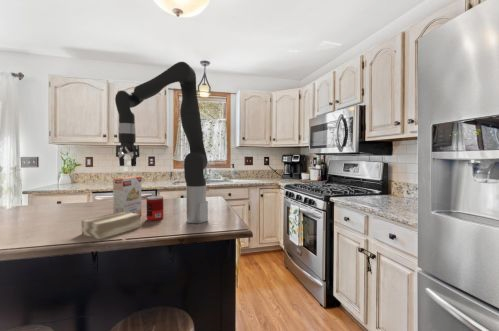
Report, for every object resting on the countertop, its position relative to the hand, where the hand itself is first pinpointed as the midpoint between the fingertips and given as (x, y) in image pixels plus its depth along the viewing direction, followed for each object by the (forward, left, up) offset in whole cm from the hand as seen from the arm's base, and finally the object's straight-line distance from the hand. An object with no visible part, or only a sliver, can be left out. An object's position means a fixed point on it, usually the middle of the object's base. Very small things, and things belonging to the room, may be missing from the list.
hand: (127, 166), depth 124 cm
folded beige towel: (-11, +16, -27) cm, 33 cm away
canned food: (-12, -6, -27) cm, 30 cm away
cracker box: (0, 0, -27) cm, 27 cm away
